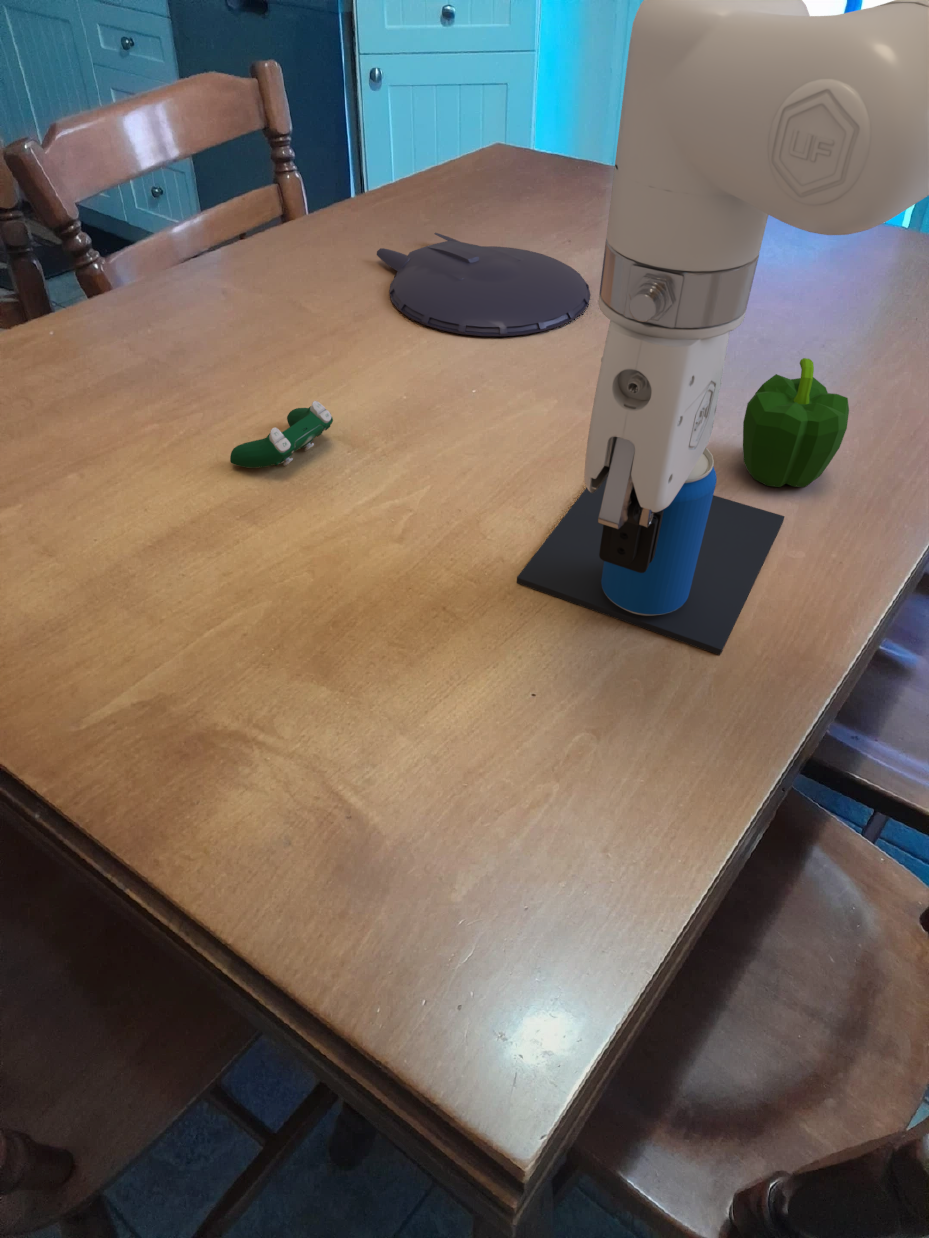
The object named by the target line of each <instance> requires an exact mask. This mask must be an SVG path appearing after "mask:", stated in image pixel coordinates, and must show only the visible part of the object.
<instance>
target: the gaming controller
mask: <svg viewBox="0 0 929 1238" xmlns="http://www.w3.org/2000/svg"><path fill="white" fill-rule="evenodd" d="M333 421H334V418H333V416H332V414H331V412H330V411H329V410H328V409H326V407H325V406H324V405H323V404H322V403H321V402H319V401H318V400H313V401H312V402H311V405H310V406H309V407H297V408H293V409H291V410H290V411H289V412H288V414H287V416H286V422H287V424H288V426H289V427H288V428H286V429H285V430H283V431H281V430H280V429H279V428H278V427H272V428H271V429H270V431H269V433H268V434H267V436H266V437H264V438H261V439H256V440H252V441H246V442H244V443H240V444H238V445H236V446H235V447H234V448H233V449H232V450H231V452H230V459H229V461H230V463H231V464H232V465H235V466H238V467H242V468H246V469H247V468H248V469H260V468H267V467H272V466H278V465H279V464H282V463H283V464H282V465H283V466H287V465H288V464H290V463H291V462H293V460H294V458H293V457H292V456H293V454H294V453H295V452H296V451H298V450H299V449H301V450H302V449H303V451H306V452H308V451H309V450H310V449H311V448H313V447H314V446H315V442H314V439H315V438H317V437H319V436H321V435H322V434H323V433H324V431H327V430H329V429H330V428H331V425H332V424H333ZM290 457H291V458H290Z"/></svg>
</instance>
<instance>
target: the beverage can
mask: <svg viewBox="0 0 929 1238" xmlns="http://www.w3.org/2000/svg"><path fill="white" fill-rule="evenodd" d="M714 464H715V460H714V456H713V454H712V452H711V451H710V450H709V449H708V448H707V447H706V448H705V450H704V452H703V453H702V455H701V457H700V458H699V460H698V462H697V463H696V465H695V467H694V468H693V470H692V471H691V473H690V475H689V476H688V478H687V479H686V481H685V483H684V484H683V486H682V487H681V489H680V490H679V492H678V493H677V495H676V496H675V498H674V499H673V501H672V502H671V504H670V505H669V506H668V507H666V508H665V509H663V511H664V512H663V517H662V522H661V527H660V532H659V537H658V542H657V546H656V551H655V556H654V558H653V560H652V562H651V563H649V566H648V568H647V570H646V571H645V572H644V573H639V572H636V571H633V570H630V569H627V568H624V567H621V566H618V565H615V564H612V563H609V562H606V561H604V566H603V573H602V579H601V584H602V588H603V591H604V593H605V594H606V596H607V597H608V598H609V599H610V600H611V601H612V602H613V603H615V604H616V605H617V606H619V607H621V608H623V609H624V610H626V611H628V612H631V613H634V614H637V615H644V616H654V615H661V614H666V613H670V612H672V611H675V610H677V609H678V608H680V607H681V606H682V605H683V604H684V603H685V602H686V600H687V598H688V596H689V592H690V588H691V584H692V580H693V576H694V572H695V568H696V564H697V559H698V555H699V551H700V547H701V543H702V539H703V535H704V531H705V527H706V523H707V519H708V515H709V510H710V506H711V502H712V498H713V495H714V494H715V490H716V485H717V473H716V469H715V467H714Z"/></svg>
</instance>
